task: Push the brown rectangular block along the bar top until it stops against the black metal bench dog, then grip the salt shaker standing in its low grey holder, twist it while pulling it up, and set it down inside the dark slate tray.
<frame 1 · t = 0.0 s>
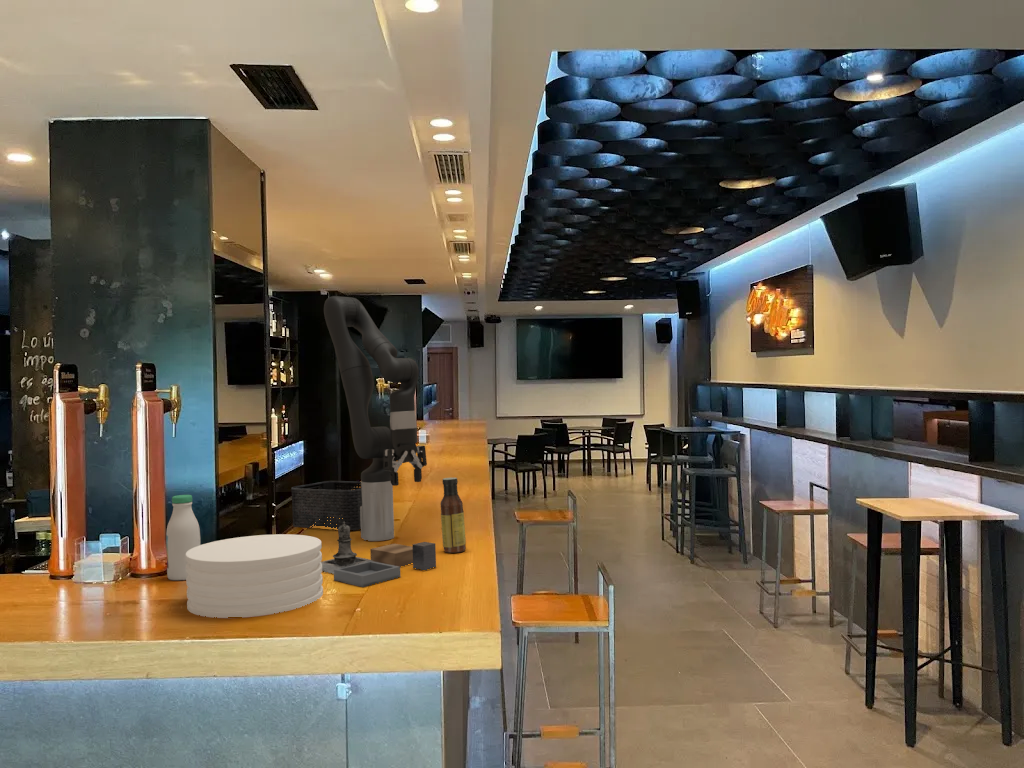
hand: (406, 483, 226), 17 cm above the worktop, tool pointing down, fingers open, 8 cm apart
plate stack: (256, 600, 171), on the worktop
sauce bottle: (453, 552, 213), on the worktop
holder: (345, 569, 196), on the worktop
storage bin: (340, 525, 261), on the worktop
bench dog: (424, 568, 194), on the worktop
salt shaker: (345, 570, 196), resting in holder
tray: (367, 578, 185), on the worktop
milk bottle: (184, 578, 193), on the worktop
brown rectangular block: (395, 563, 202), on the worktop
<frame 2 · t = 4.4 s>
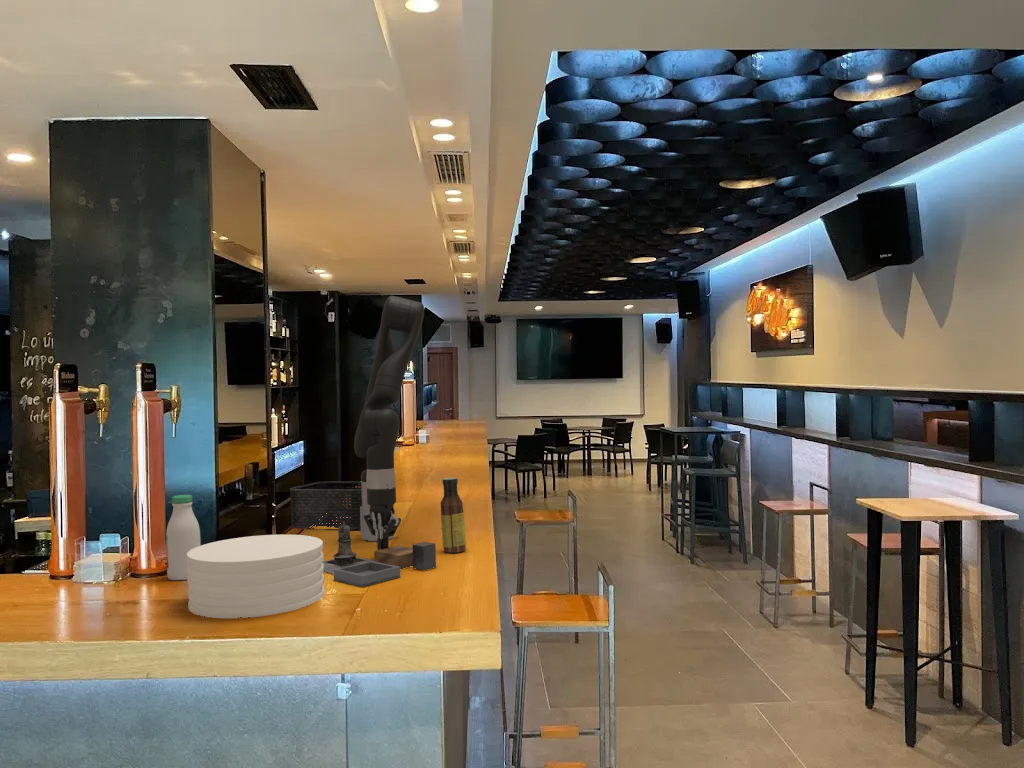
hand: (383, 552, 204), 2 cm above the worktop, tool pointing down, fingers closed
brown rectangular block: (399, 566, 200), on the worktop
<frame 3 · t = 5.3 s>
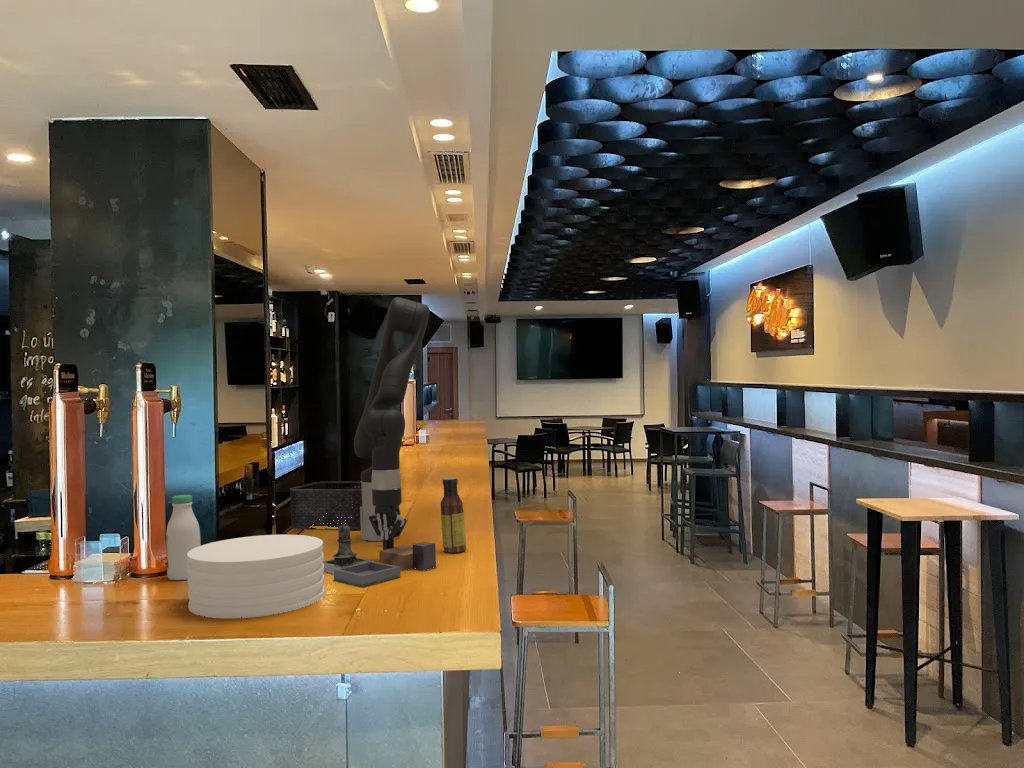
hand: (388, 553, 203), 2 cm above the worktop, tool pointing down, fingers closed
brown rectangular block: (404, 566, 199), on the worktop
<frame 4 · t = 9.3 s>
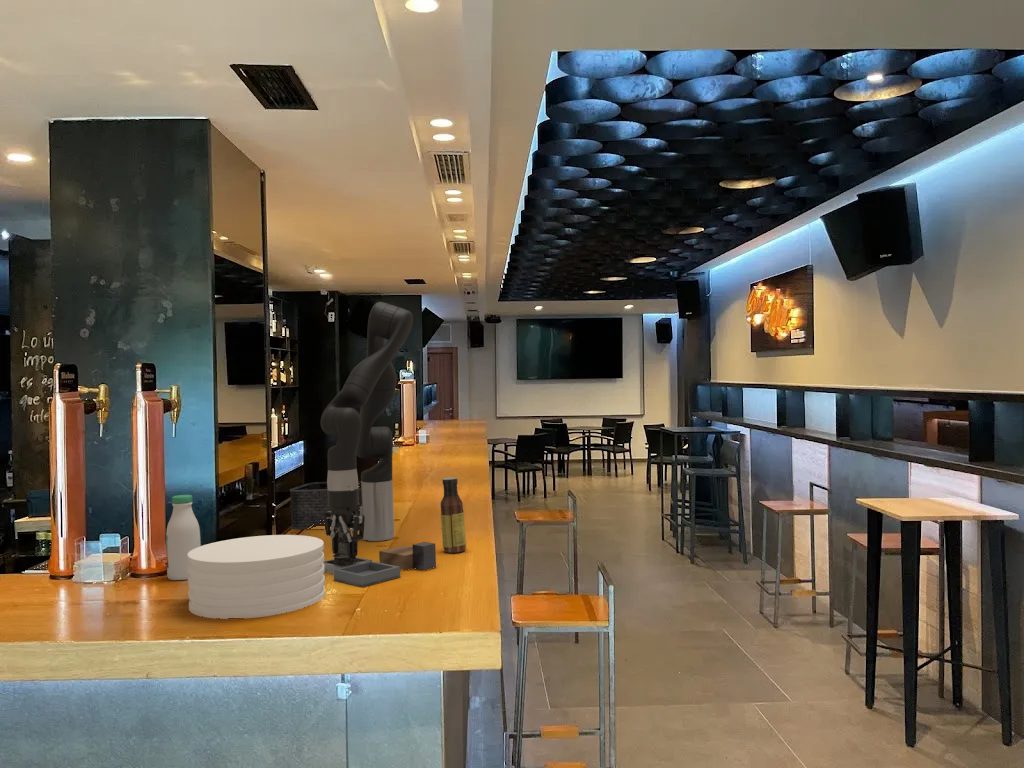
hand: (345, 554, 196), 4 cm above the worktop, tool pointing down, fingers closed on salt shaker, 6 cm apart
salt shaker: (345, 570, 196), resting in holder, touching gripper
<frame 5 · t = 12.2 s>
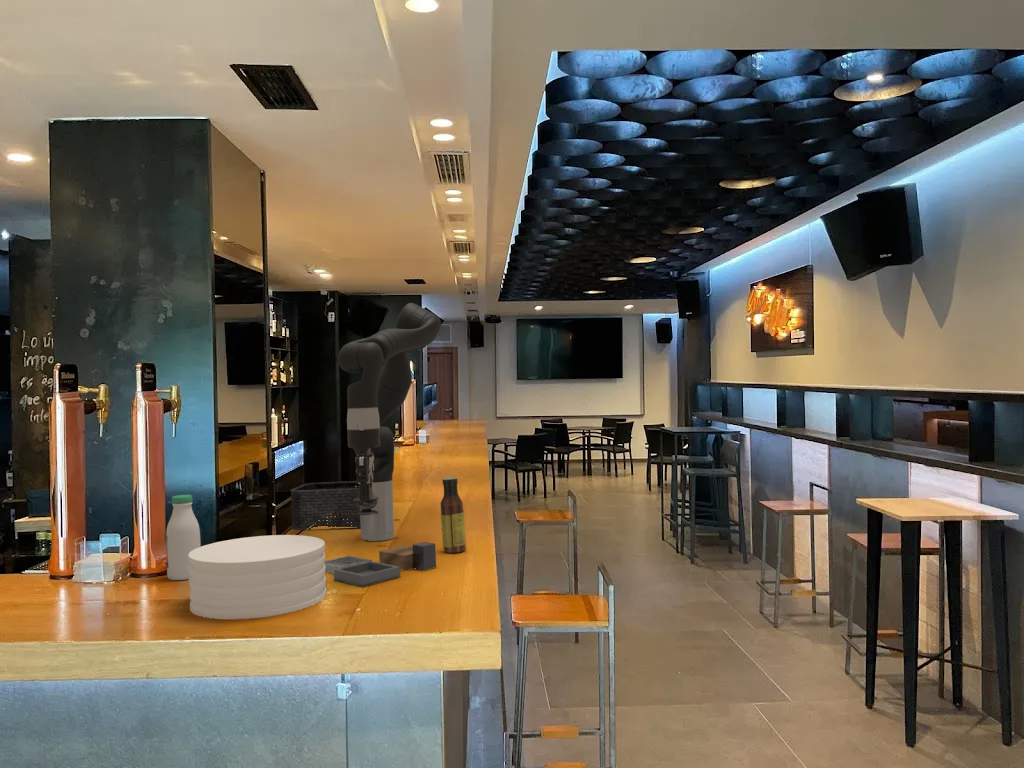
hand: (366, 498, 185), 19 cm above the worktop, tool pointing down, fingers closed on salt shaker, 6 cm apart
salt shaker: (366, 514, 185), point 15 cm above the worktop, touching gripper
when the fingers open (6 cm above the worktop, at t = 15.1 s): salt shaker drops 2 cm, resting on tray.
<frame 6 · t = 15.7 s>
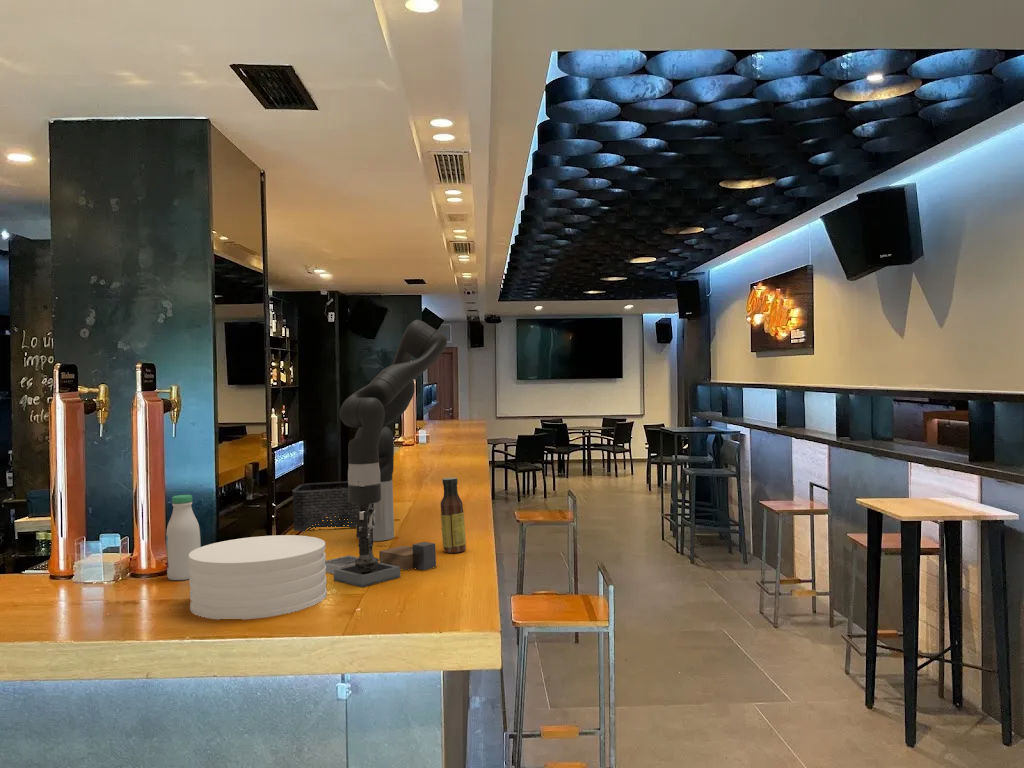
hand: (366, 550, 185), 7 cm above the worktop, tool pointing down, fingers open, 8 cm apart
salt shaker: (367, 576, 186), resting on tray
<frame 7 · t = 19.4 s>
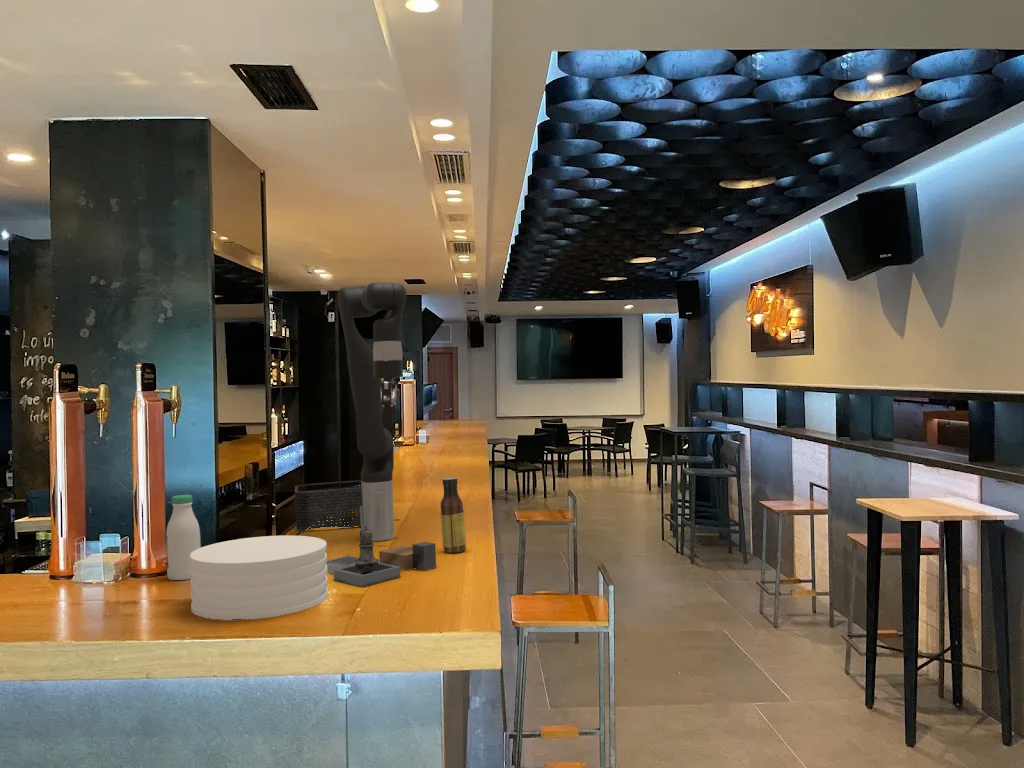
hand: (389, 421, 205), 36 cm above the worktop, tool pointing down, fingers open, 8 cm apart
at the end: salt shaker inside the target area on the tray (0.1 cm from its centre), point 0.4 cm above the tray's base; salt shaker tilted 0°; brown rectangular block moved 4.0 cm from its start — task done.
